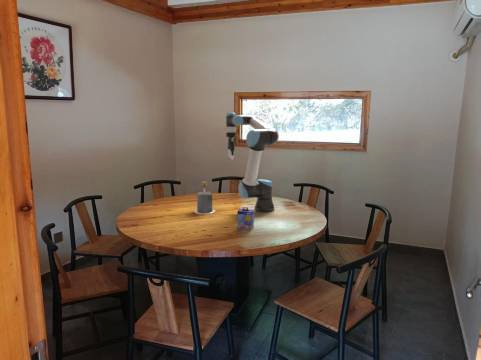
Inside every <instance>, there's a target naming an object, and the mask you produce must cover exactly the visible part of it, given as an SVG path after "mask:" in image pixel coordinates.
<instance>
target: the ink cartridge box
mask: <svg viewBox="0 0 481 360" xmlns="http://www.w3.org/2000/svg"><path fill="white" fill-rule="evenodd" d="M254 214H255V209H249V207H247V206H246V207H243V206H242V208H239V209H237V230H244V231H245V230H246V231H248V230H249V231H252V230H253V229H254V227H255V226H254V219H255V217H254V216H255V215H254Z"/></svg>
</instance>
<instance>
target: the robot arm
mask: <svg viewBox="0 0 481 360" xmlns="http://www.w3.org/2000/svg"><path fill="white" fill-rule="evenodd" d="M225 116H226V117H225V123H226V125H225V127H226V128H225V130H226V134H225V135H226V138H227V141H228V143H227V152H228V153H227V154H228V157H227V158H230V160H235V139H234V138H236V134H237V133H236V130H237V129H236V128H237V127H236V126H244V125H245V126H250V127H251V128H252V129H251V130H249V131H248V132H247V134H246V137H245V138H246V139H245V140H246V141H245V142H246V145H247V147H248V149H249V153H248V159H247V165H246V170H245V175H244V176H245V177H244V178H242V180H241V182H240V183H239V184H238V187H237V189H238V194H239V196H240V197H241V199H253V198H256V202H255V205H254V211H257V212H262V213H267V212H273V211H275V205H274V202H273V201H274V200H273V188H274V186H273V181H271V180H269V179H263V178H261V179H257V178H258V173H259V168H260V163H261V159H262V152H264V151H265V149H266V147H270V146H273V145H275V144H276V143H277V142H278V141H279V131H277V129H275V128H274V127H272V126H271V127H270V126H269V125H267V124H266V123H264V122H263V121H261V120H260V119H259V116H258V115H254V114H246V115H242V114H241V115H240V114H239V115H237V114H236V112H227V113H226V115H225Z"/></svg>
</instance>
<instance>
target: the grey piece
mask: <svg viewBox="0 0 481 360" xmlns="http://www.w3.org/2000/svg"><path fill="white" fill-rule="evenodd" d="M196 206H197V207H196V210H197V212H198V213H211V212H212V209H213V194H212V192H211V191H205V193H204V191H197V193H196Z"/></svg>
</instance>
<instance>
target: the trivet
mask: <svg viewBox="0 0 481 360" xmlns="http://www.w3.org/2000/svg"><path fill="white" fill-rule="evenodd" d="M193 213H194V214H196V215H197V214H198V215H210V214H214V213H216V210H215V209H213V208H212V212H211V213H198V212H197V209H195V210H194V211H193Z"/></svg>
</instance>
